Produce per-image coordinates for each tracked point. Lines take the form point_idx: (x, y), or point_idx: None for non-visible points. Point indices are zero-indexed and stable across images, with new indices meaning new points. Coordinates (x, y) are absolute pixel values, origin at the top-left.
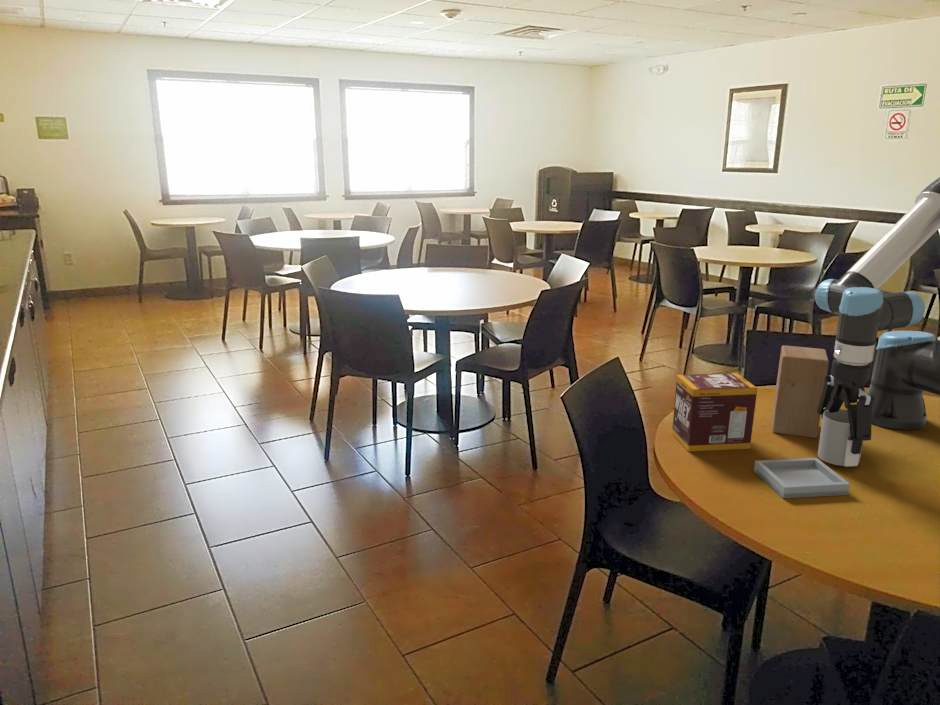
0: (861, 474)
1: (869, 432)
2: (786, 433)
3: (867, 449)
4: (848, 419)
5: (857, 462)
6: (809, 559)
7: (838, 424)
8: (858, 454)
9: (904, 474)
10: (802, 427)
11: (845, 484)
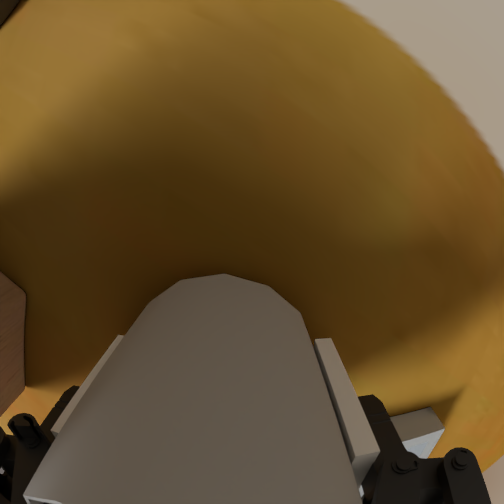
0: (346, 314)
1: (478, 493)
2: (23, 367)
3: (106, 130)
4: (67, 432)
5: (335, 350)
6: (486, 467)
7: None
8: (347, 379)
9: (374, 124)
10: (5, 351)
11: (439, 436)
